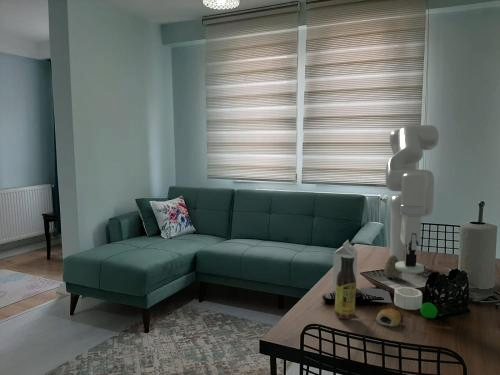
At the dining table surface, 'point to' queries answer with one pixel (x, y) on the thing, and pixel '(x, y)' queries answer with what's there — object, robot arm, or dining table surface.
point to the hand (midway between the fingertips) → (409, 263)
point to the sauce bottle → (345, 289)
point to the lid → (408, 269)
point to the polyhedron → (428, 310)
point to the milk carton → (344, 250)
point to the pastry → (389, 317)
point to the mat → (377, 294)
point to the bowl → (408, 298)
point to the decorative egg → (391, 267)
